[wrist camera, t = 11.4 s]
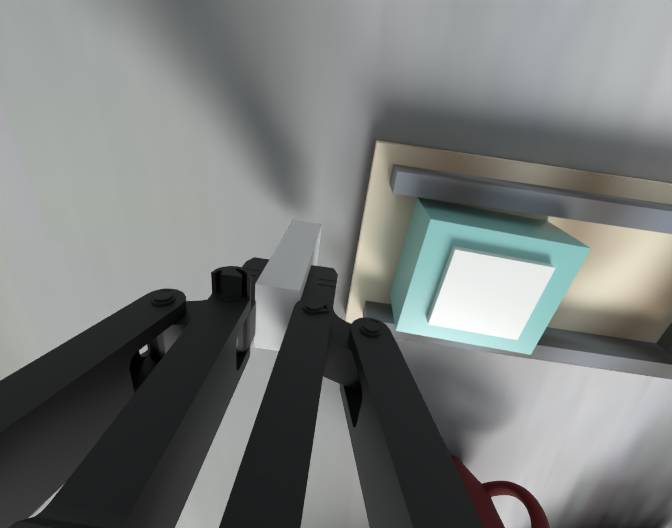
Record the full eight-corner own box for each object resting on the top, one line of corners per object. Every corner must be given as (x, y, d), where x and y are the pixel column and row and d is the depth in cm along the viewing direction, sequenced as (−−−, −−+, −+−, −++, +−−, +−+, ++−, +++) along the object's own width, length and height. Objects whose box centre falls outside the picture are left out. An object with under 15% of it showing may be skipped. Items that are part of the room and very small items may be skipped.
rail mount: (345, 314, 22) (342, 355, 18) (376, 140, 17) (380, 150, 13) (642, 357, 22) (698, 407, 18) (759, 195, 17) (866, 221, 13)
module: (389, 293, 20) (396, 335, 16) (417, 197, 17) (432, 222, 14) (503, 313, 20) (534, 360, 16) (548, 221, 17) (597, 252, 14)
